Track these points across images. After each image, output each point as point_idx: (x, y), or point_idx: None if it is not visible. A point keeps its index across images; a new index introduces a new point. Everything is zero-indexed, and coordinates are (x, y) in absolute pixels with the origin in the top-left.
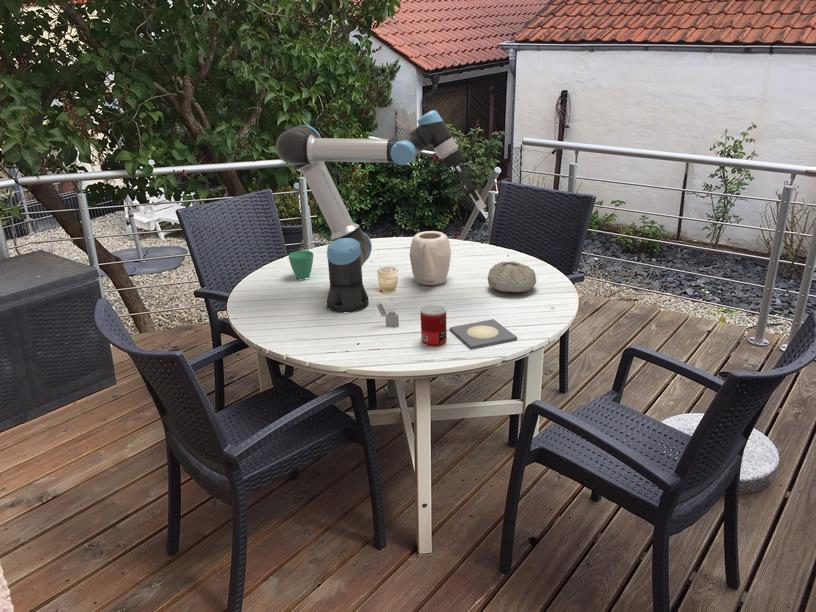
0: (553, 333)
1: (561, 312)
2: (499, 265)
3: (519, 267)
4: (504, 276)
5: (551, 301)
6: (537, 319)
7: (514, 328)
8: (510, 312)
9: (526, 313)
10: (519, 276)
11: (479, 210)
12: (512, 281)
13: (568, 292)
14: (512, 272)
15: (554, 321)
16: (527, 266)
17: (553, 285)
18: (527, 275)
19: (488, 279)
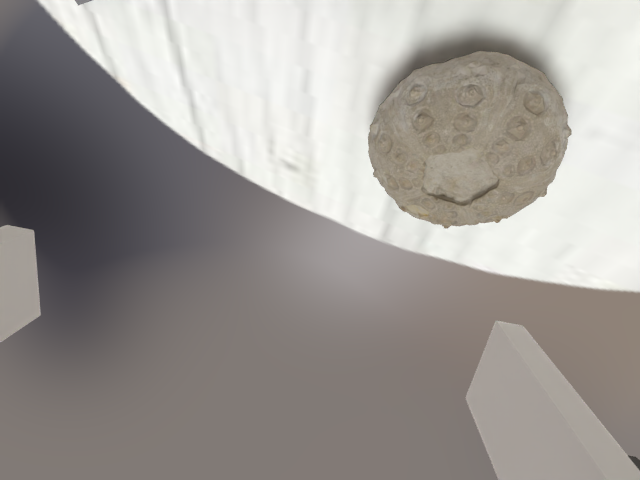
0: (146, 106)
1: (263, 172)
2: (481, 139)
3: (431, 195)
4: (395, 118)
5: (334, 183)
6: (221, 105)
7: (155, 21)
8: (268, 50)
9: (259, 94)
10: (378, 164)
11: (4, 230)
12: (372, 130)
13: (383, 237)
14: (395, 155)
15: (212, 136)
16: (445, 221)
17: (444, 234)
18: (388, 190)
19: (479, 57)
